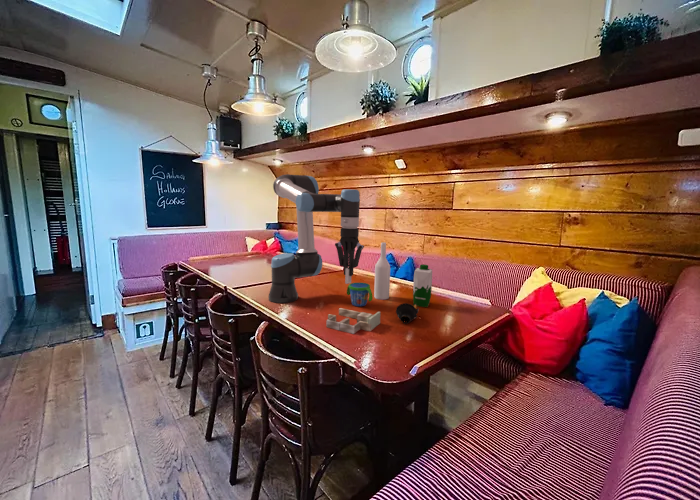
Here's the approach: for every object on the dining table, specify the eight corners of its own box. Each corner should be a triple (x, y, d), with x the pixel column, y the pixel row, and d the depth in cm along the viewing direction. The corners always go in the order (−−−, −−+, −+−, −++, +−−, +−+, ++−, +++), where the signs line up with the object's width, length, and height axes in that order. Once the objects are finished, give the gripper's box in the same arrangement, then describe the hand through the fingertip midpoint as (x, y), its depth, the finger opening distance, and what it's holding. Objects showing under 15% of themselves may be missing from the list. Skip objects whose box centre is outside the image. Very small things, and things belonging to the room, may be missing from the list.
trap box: (320, 325, 127) (320, 314, 127) (339, 314, 141) (340, 303, 140) (363, 336, 118) (364, 324, 117) (380, 323, 131) (380, 311, 131)
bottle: (378, 294, 173) (380, 241, 168) (391, 297, 168) (393, 242, 164) (371, 297, 166) (373, 242, 162) (384, 300, 162) (386, 244, 157)
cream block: (357, 325, 129) (357, 315, 128) (361, 322, 132) (362, 312, 132) (366, 327, 126) (367, 317, 126) (371, 324, 130) (371, 314, 130)
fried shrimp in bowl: (391, 314, 129) (395, 290, 145) (401, 334, 133) (404, 308, 148) (412, 309, 126) (414, 285, 141) (421, 329, 129) (422, 303, 145)
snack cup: (341, 302, 158) (341, 283, 156) (356, 298, 164) (357, 280, 163) (361, 310, 146) (361, 290, 144) (377, 306, 152) (378, 286, 151)
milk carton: (431, 303, 159) (433, 265, 156) (429, 308, 151) (431, 268, 148) (414, 300, 163) (416, 263, 160) (411, 305, 154) (413, 266, 151)
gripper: (331, 227, 127) (330, 282, 131) (359, 229, 121) (357, 287, 125) (340, 225, 133) (339, 278, 137) (367, 227, 127) (365, 283, 131)
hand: (348, 282), depth 131 cm, fingers closed
